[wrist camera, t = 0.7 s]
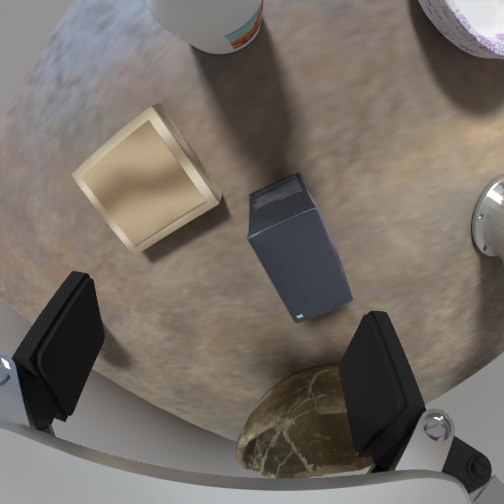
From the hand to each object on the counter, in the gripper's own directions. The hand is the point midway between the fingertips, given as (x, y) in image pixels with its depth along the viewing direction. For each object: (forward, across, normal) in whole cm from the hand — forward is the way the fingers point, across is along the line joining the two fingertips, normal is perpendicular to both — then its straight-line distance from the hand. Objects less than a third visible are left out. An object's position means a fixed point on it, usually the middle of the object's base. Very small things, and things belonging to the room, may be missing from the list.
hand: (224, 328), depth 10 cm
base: (+25, +10, +4) cm, 27 cm away
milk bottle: (+25, +4, -14) cm, 29 cm away
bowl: (+25, -17, +36) cm, 47 cm away
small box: (+25, -6, +7) cm, 27 cm away
